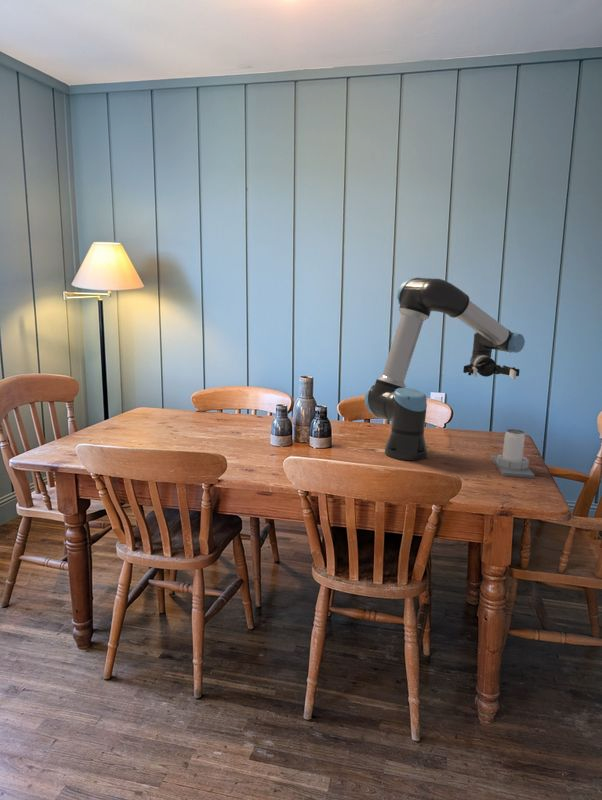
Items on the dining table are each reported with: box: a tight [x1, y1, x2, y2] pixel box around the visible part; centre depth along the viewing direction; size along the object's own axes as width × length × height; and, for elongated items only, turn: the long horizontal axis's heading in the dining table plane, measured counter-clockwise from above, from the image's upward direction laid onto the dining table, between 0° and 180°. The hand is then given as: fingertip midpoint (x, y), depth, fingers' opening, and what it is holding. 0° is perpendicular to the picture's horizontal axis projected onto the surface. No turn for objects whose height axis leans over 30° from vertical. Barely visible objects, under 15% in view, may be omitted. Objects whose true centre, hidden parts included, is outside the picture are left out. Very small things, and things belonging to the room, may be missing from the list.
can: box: [502, 428, 526, 462], centre depth 202 cm, size 6×6×12 cm
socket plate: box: [491, 453, 535, 479], centre depth 203 cm, size 10×20×4 cm, turn 173°
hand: (495, 374), depth 212 cm, fingers open, 13 cm apart
